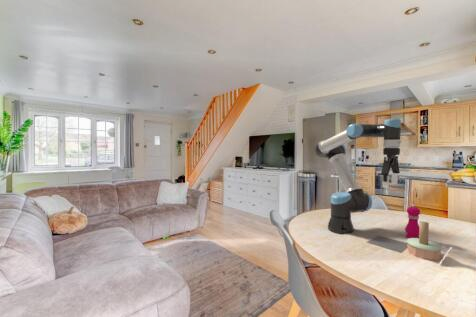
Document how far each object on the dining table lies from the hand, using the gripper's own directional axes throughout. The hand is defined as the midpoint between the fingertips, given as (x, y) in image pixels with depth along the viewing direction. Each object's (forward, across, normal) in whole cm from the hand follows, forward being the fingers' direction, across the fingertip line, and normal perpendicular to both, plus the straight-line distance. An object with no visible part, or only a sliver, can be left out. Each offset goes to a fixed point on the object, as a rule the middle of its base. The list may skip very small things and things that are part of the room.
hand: (390, 186), depth 122 cm
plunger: (+26, -6, -17) cm, 31 cm away
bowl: (+31, -6, -17) cm, 35 cm away
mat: (+31, -5, -2) cm, 31 cm away
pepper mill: (+31, +14, -8) cm, 35 cm away
